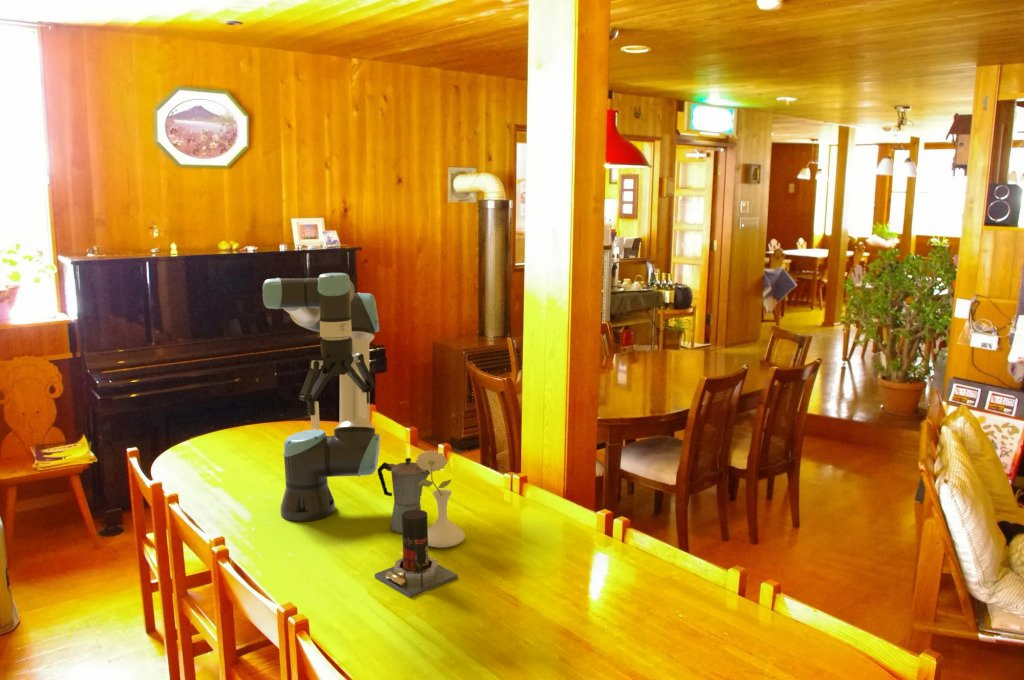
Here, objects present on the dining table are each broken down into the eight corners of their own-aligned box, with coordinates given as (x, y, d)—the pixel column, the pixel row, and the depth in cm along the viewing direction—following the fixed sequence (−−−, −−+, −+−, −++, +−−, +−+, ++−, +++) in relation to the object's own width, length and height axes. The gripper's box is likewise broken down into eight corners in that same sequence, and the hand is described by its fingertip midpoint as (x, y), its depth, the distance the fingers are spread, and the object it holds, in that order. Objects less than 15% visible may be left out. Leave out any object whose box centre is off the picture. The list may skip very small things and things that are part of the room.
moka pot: (426, 537, 221) (425, 465, 218) (372, 532, 224) (369, 461, 221) (437, 523, 230) (435, 454, 227) (384, 519, 233) (382, 450, 230)
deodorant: (404, 569, 200) (402, 510, 198) (428, 567, 201) (427, 509, 198) (403, 580, 195) (401, 519, 192) (428, 579, 195) (427, 518, 192)
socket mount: (374, 577, 198) (374, 563, 197) (421, 559, 208) (421, 546, 207) (410, 598, 188) (409, 583, 188) (457, 578, 198) (457, 564, 197)
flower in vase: (471, 537, 221) (470, 446, 217) (454, 554, 211) (453, 460, 206) (426, 530, 225) (424, 442, 221) (408, 547, 215) (405, 454, 210)
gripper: (297, 346, 190) (302, 435, 194) (387, 333, 207) (390, 415, 210) (281, 341, 195) (286, 429, 199) (370, 329, 212) (373, 410, 216)
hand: (339, 422), depth 205 cm, fingers open, 13 cm apart
